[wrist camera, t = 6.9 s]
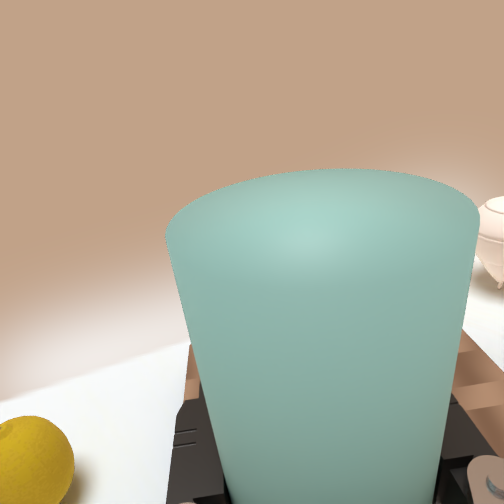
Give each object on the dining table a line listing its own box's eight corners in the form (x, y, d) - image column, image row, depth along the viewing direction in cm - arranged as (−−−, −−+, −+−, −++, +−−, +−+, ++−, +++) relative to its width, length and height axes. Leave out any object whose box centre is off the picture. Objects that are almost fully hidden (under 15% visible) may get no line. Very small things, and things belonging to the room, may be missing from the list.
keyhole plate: (181, 564, 22) (168, 535, 20) (196, 369, 36) (189, 344, 35) (577, 497, 22) (591, 463, 21) (435, 330, 36) (438, 304, 35)
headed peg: (273, 741, 11) (136, 315, 4) (257, 549, 16) (180, 187, 8) (434, 713, 11) (580, 249, 4) (372, 531, 16) (392, 157, 9)
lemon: (24, 476, 28) (-24, 403, 25) (97, 459, 29) (59, 384, 25) (-11, 560, 23) (-77, 483, 20) (78, 537, 24) (28, 458, 20)
